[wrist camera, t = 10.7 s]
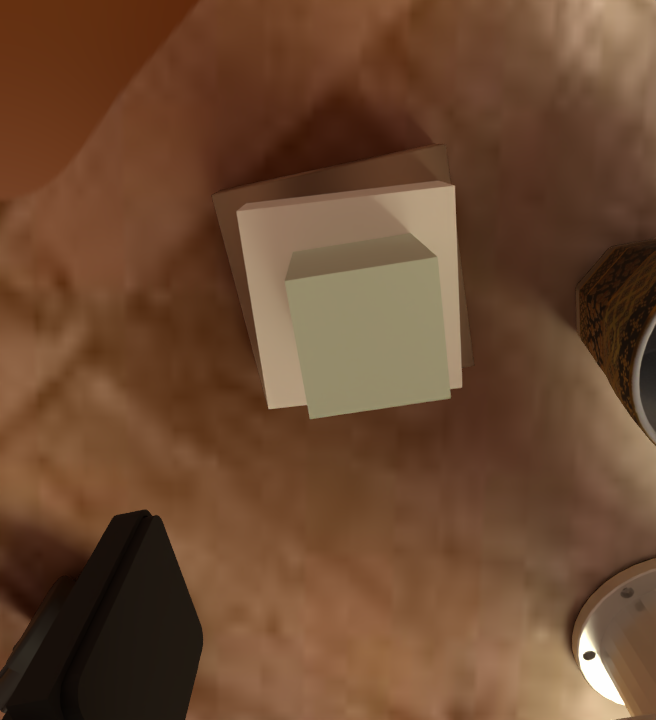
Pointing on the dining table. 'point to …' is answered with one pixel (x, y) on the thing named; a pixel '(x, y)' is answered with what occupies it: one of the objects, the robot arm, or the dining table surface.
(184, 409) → the dining table surface
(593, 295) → the ceramic cup
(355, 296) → the green block
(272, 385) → the white slab
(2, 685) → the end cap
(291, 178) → the walnut slab
